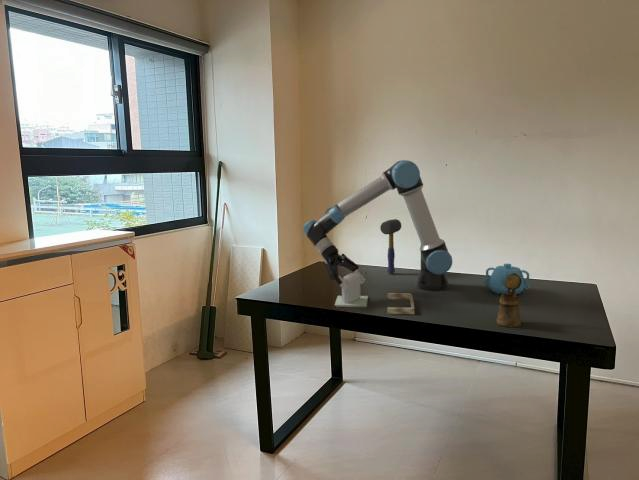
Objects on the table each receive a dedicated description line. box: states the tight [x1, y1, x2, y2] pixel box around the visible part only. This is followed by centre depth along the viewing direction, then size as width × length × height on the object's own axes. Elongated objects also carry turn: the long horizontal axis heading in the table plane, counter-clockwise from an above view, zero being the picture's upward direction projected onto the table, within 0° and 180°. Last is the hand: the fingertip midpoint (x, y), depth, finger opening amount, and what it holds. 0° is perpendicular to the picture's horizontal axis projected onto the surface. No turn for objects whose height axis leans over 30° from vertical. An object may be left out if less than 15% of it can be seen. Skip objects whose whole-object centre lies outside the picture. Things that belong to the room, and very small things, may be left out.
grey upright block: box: [341, 272, 361, 303], centre depth 221 cm, size 10×4×12 cm, turn 140°
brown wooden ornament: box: [496, 273, 522, 328], centre depth 189 cm, size 9×14×18 cm, turn 148°
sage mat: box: [334, 295, 369, 308], centre depth 222 cm, size 14×14×1 cm
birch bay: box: [386, 292, 415, 315], centre depth 214 cm, size 11×22×2 cm, turn 172°
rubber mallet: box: [379, 218, 402, 275], centre depth 268 cm, size 12×8×30 cm, turn 143°
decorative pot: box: [484, 263, 531, 295], centre depth 229 cm, size 16×16×14 cm
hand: (355, 285), depth 219 cm, fingers open, 13 cm apart
